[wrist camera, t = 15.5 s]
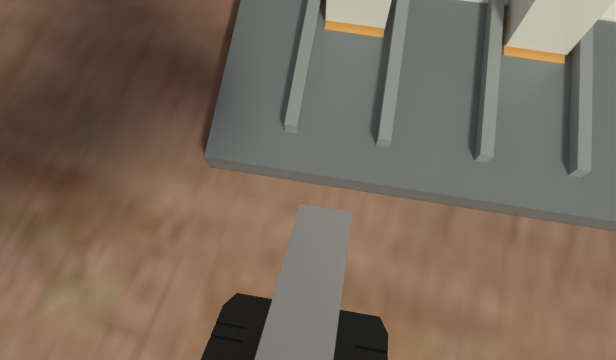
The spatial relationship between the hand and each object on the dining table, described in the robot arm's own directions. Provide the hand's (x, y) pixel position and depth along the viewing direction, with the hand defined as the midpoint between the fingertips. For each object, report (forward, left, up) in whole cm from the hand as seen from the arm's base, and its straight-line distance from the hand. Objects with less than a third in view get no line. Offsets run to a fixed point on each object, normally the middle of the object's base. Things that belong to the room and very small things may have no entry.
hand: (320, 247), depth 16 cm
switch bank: (-6, -15, -18) cm, 25 cm away
